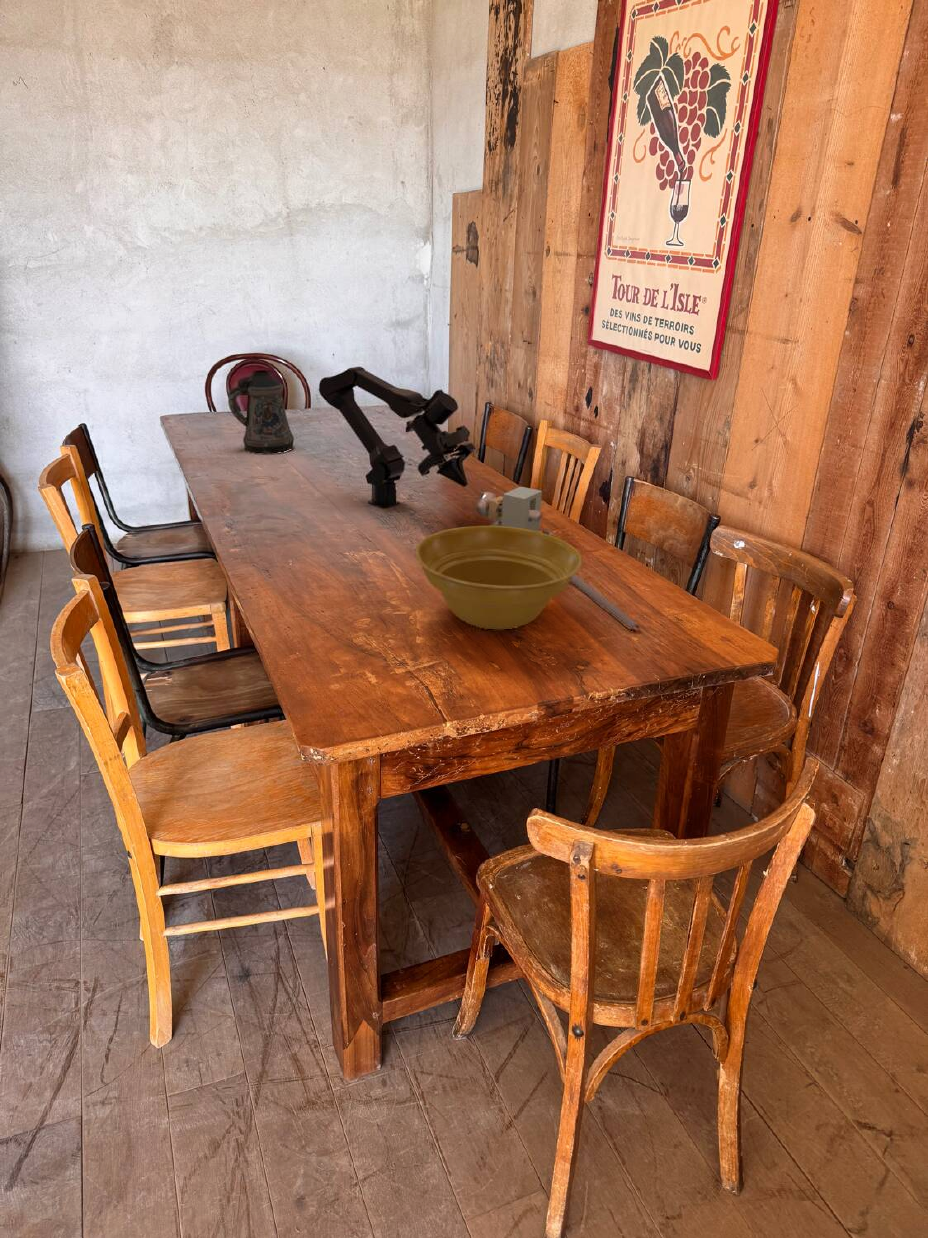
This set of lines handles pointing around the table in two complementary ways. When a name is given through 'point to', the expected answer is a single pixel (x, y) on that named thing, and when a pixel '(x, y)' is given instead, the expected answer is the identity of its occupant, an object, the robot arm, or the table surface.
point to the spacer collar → (495, 509)
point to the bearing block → (521, 509)
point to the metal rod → (603, 602)
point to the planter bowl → (497, 572)
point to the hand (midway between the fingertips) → (465, 485)
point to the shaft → (499, 507)
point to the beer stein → (262, 413)
